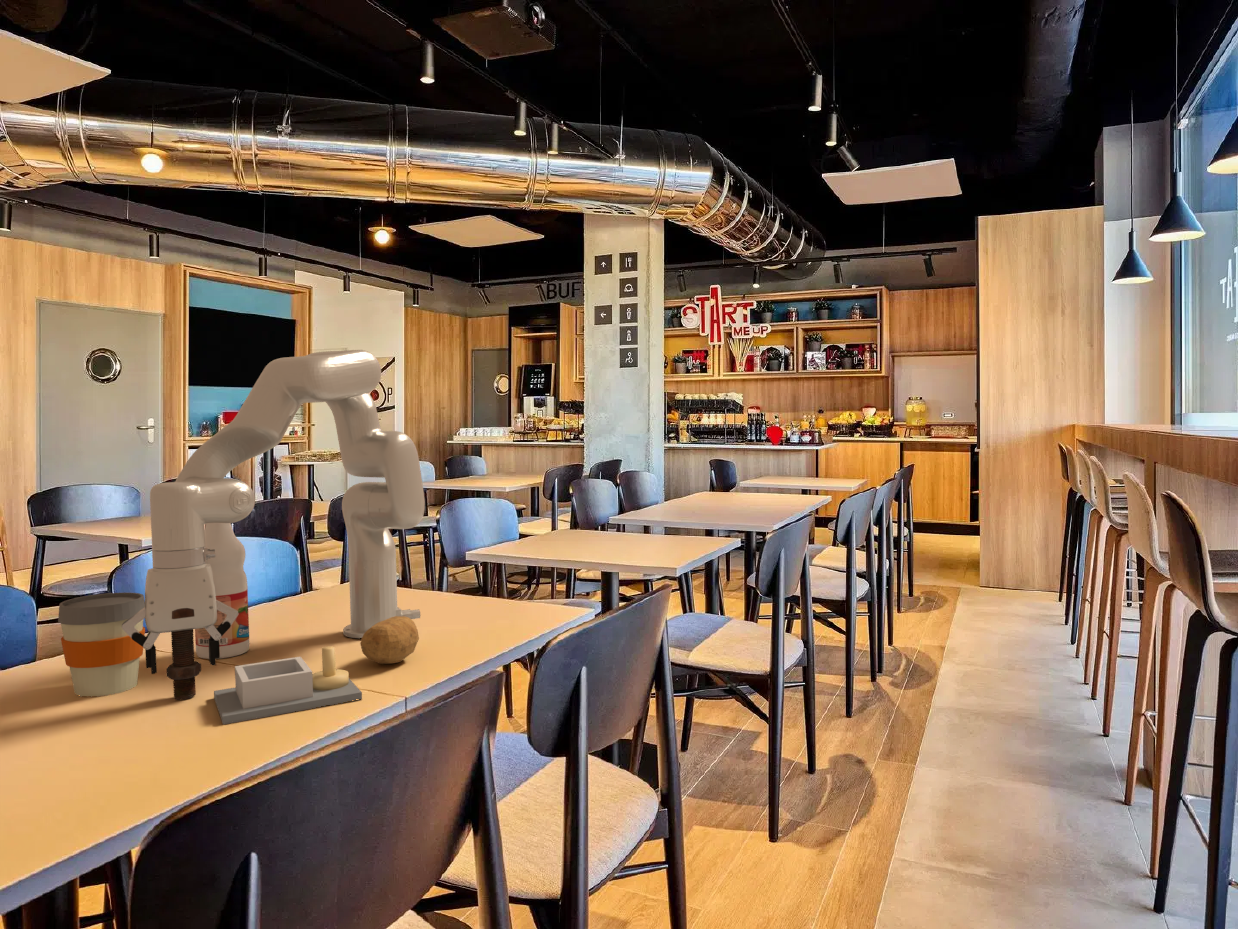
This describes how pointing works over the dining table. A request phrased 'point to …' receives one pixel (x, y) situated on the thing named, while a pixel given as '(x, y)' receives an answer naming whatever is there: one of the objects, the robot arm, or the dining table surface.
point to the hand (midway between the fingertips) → (183, 667)
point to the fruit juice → (227, 591)
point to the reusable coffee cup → (101, 642)
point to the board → (284, 688)
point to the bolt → (183, 659)
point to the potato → (390, 640)
